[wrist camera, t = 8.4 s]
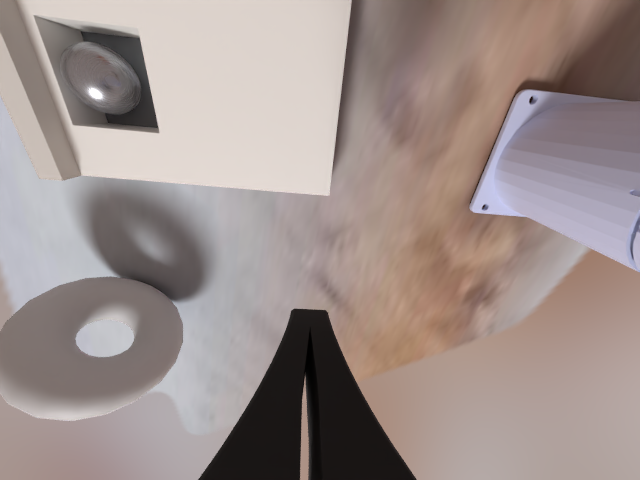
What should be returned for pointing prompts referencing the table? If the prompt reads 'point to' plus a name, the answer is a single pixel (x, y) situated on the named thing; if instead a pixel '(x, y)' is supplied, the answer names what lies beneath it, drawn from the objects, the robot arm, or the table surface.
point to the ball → (100, 78)
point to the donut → (78, 367)
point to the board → (185, 90)
